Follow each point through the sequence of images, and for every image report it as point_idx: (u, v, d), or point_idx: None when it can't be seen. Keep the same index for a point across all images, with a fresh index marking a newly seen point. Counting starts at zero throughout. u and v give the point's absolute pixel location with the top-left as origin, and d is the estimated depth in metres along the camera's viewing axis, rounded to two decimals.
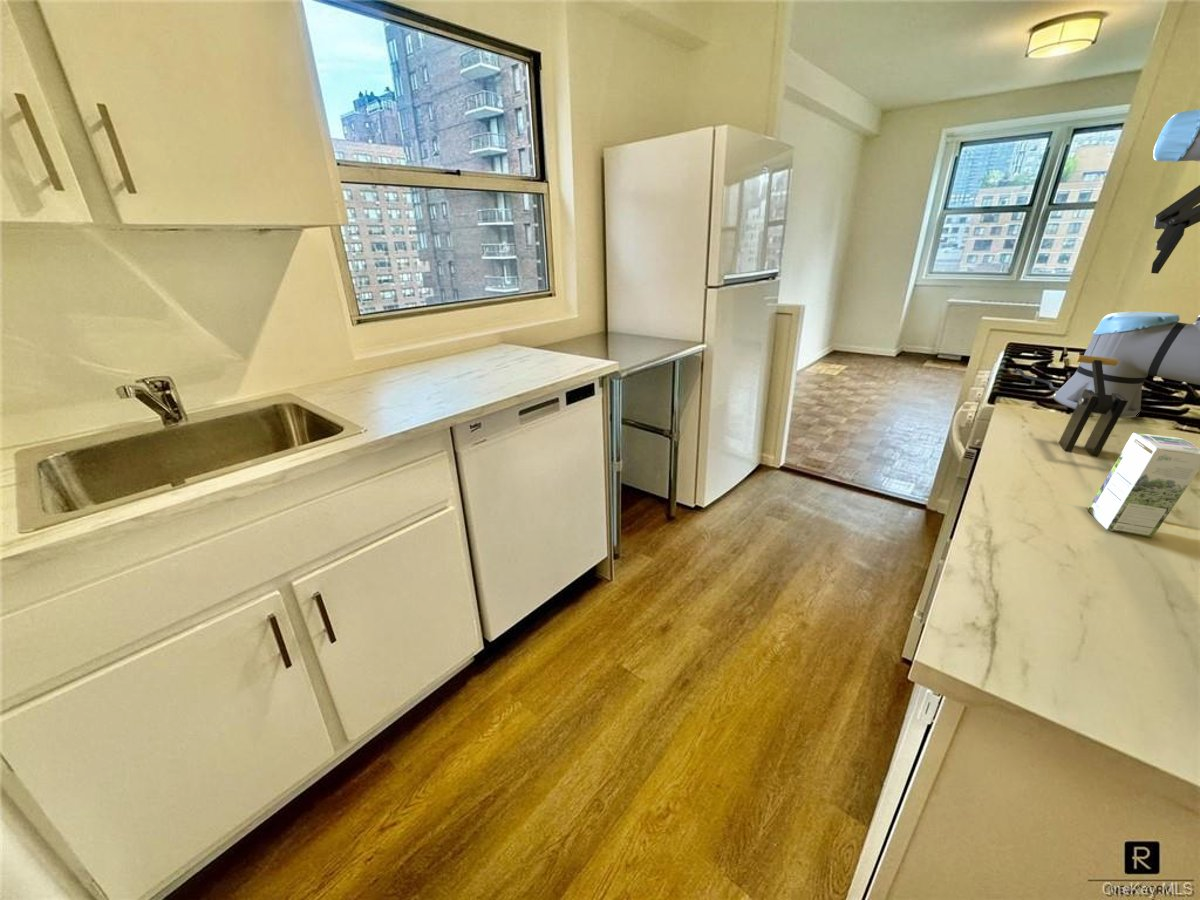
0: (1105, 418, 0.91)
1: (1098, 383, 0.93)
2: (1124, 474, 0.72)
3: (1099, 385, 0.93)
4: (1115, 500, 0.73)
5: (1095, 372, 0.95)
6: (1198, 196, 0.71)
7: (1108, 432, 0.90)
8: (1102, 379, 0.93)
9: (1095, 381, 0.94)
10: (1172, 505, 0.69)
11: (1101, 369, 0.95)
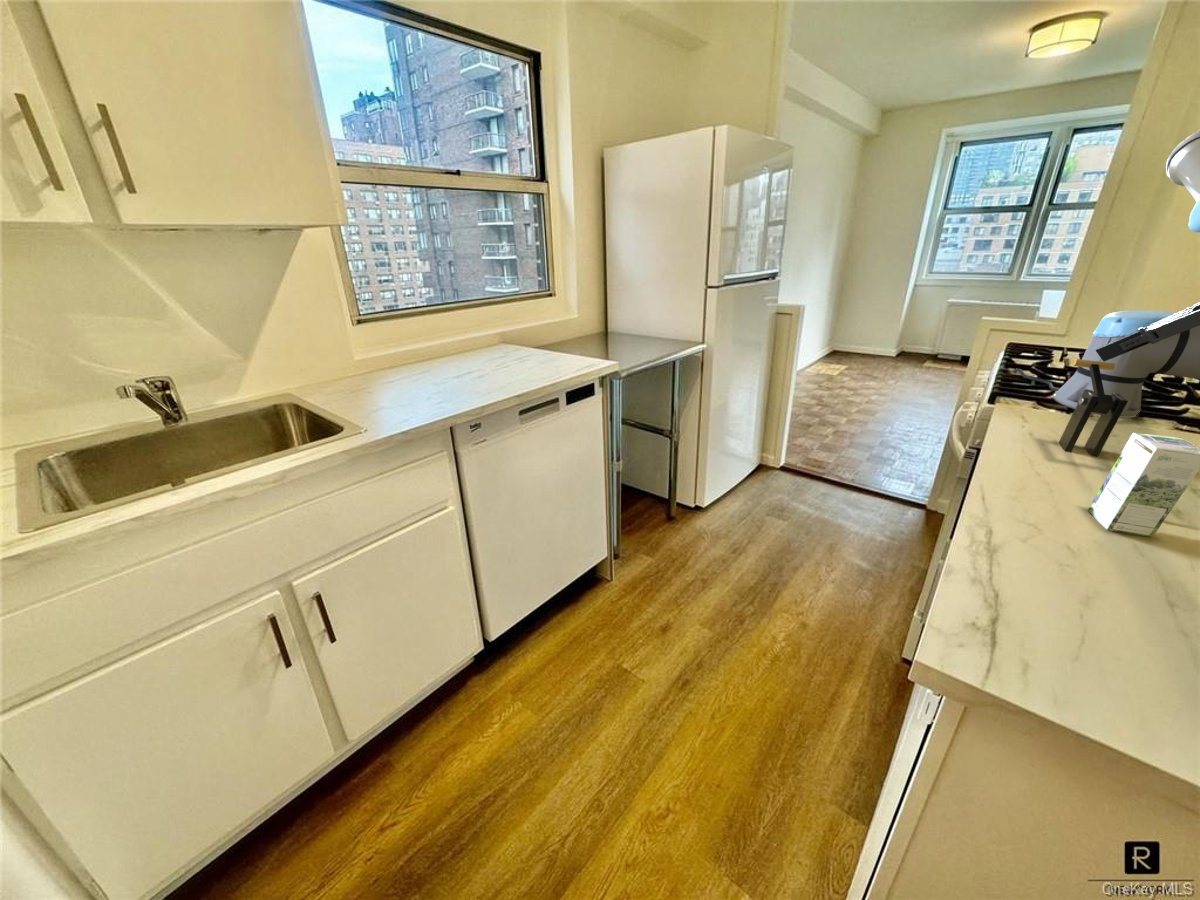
0: (1105, 418, 0.91)
1: (1097, 385, 0.93)
2: (1124, 474, 0.72)
3: (1098, 386, 0.93)
4: (1115, 500, 0.73)
5: (1093, 375, 0.95)
6: None
7: (1108, 432, 0.90)
8: (1100, 381, 0.94)
9: (1093, 383, 0.94)
10: (1172, 505, 0.69)
11: (1099, 372, 0.95)
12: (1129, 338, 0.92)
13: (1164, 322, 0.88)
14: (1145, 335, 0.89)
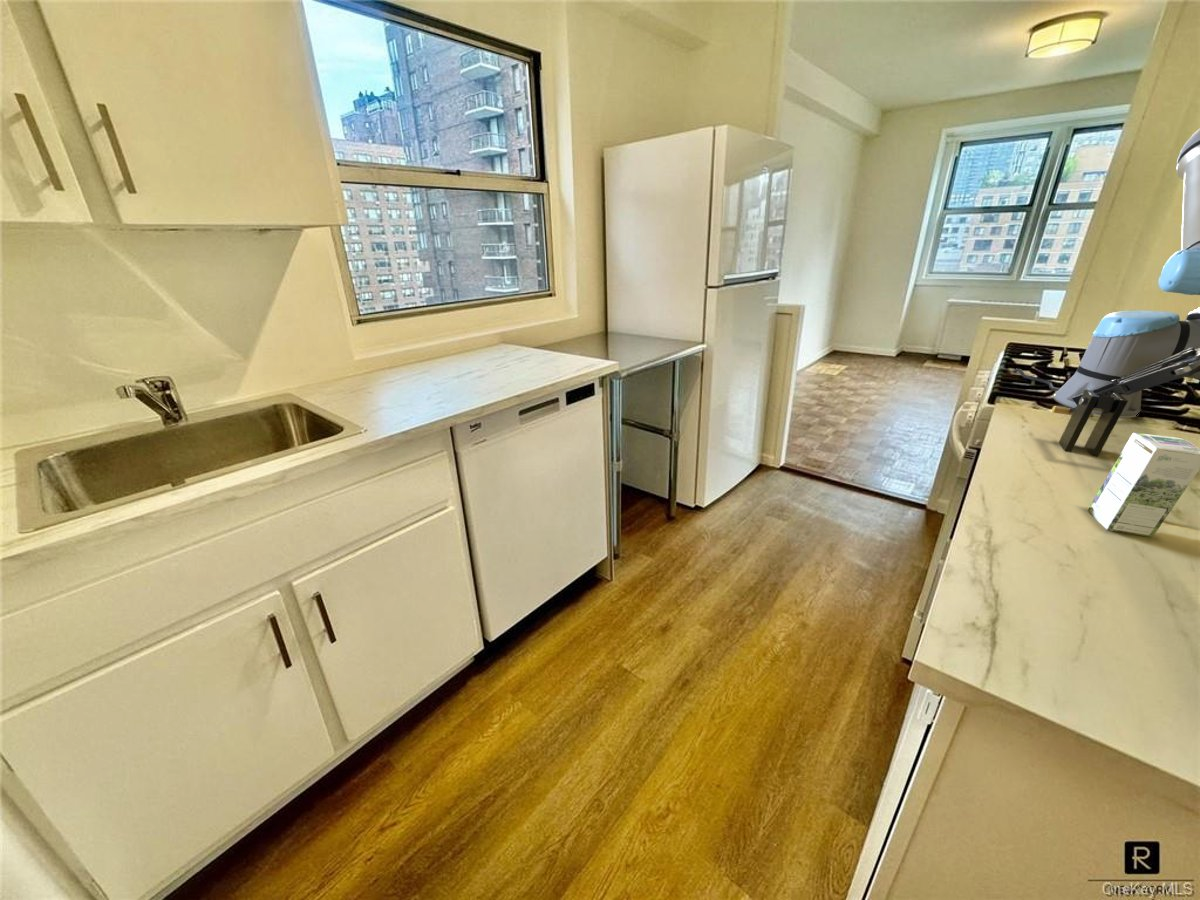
0: (1105, 418, 0.91)
1: None
2: (1124, 474, 0.72)
3: None
4: (1115, 500, 0.73)
5: None
6: None
7: (1108, 432, 0.90)
8: None
9: None
10: (1172, 505, 0.69)
11: None
12: (1103, 388, 0.97)
13: (1135, 376, 0.93)
14: (1118, 387, 0.94)
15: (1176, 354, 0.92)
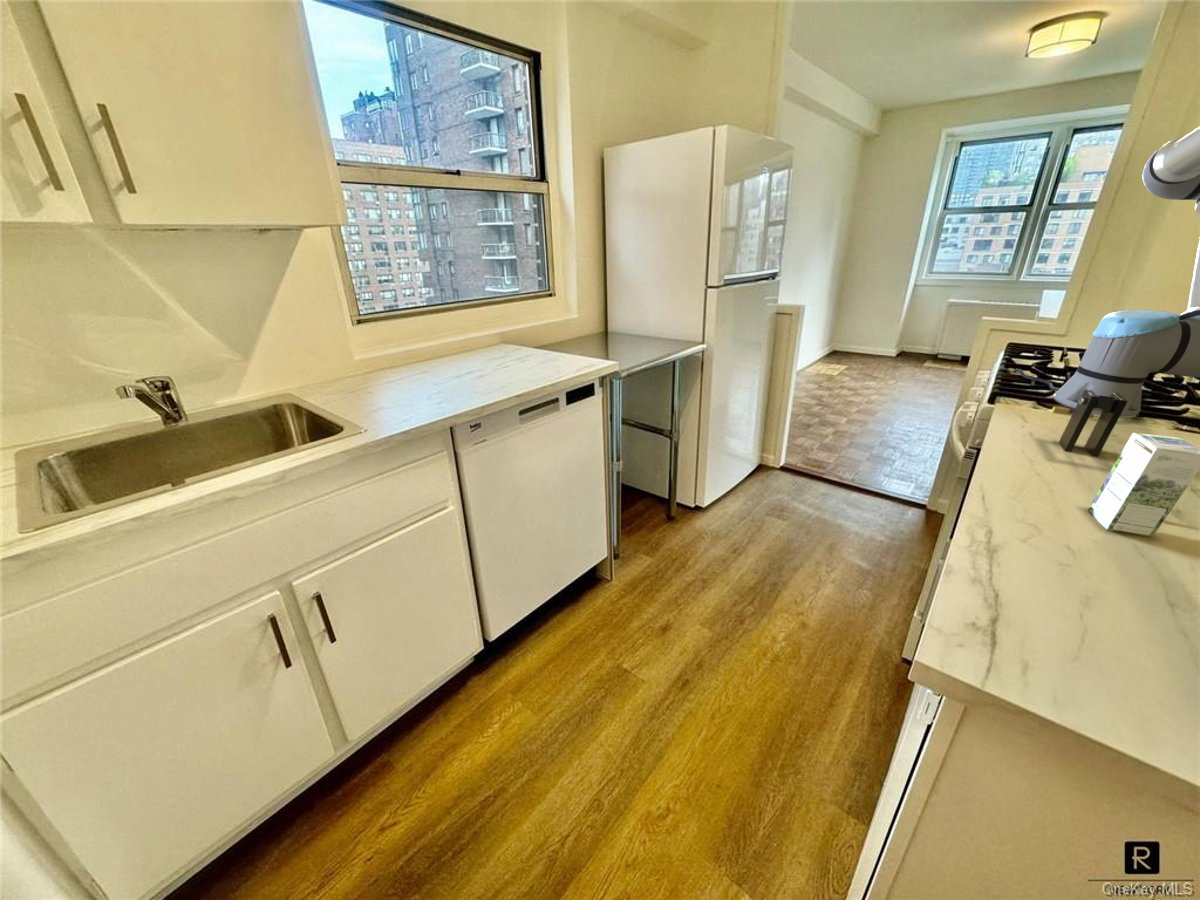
0: (1105, 418, 0.91)
1: None
2: (1124, 474, 0.72)
3: None
4: (1115, 500, 0.73)
5: None
6: None
7: (1108, 432, 0.90)
8: None
9: None
10: (1172, 505, 0.69)
11: None
12: None
13: None
14: None
15: None
